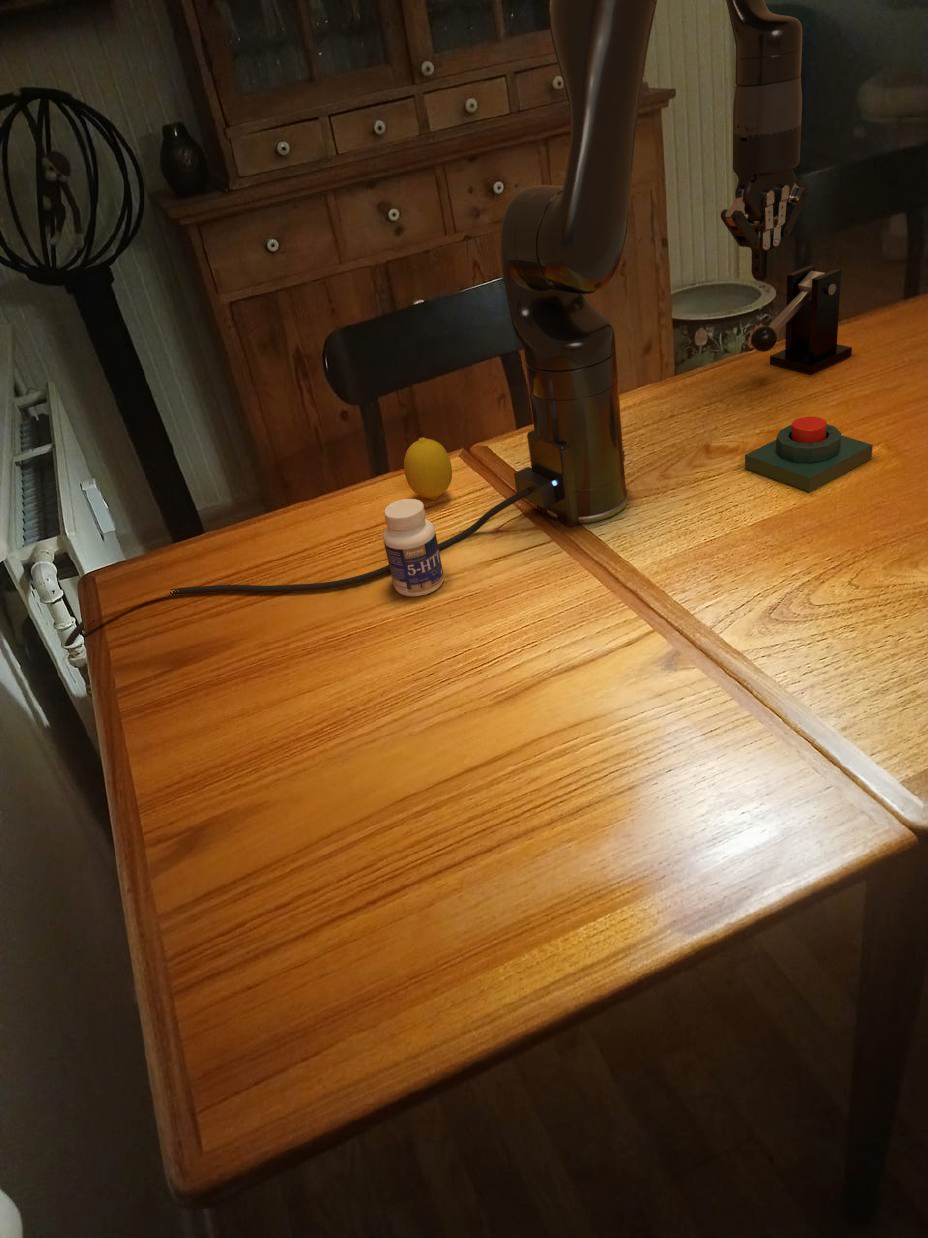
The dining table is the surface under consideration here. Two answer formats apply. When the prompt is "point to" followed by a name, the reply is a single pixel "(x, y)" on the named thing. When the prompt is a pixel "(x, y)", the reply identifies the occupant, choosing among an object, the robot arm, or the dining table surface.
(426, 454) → the lemon
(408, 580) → the pill bottle
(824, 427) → the push button
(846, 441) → the button block
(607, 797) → the dining table surface
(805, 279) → the tap lever
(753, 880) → the dining table surface
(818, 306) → the black lever stand
